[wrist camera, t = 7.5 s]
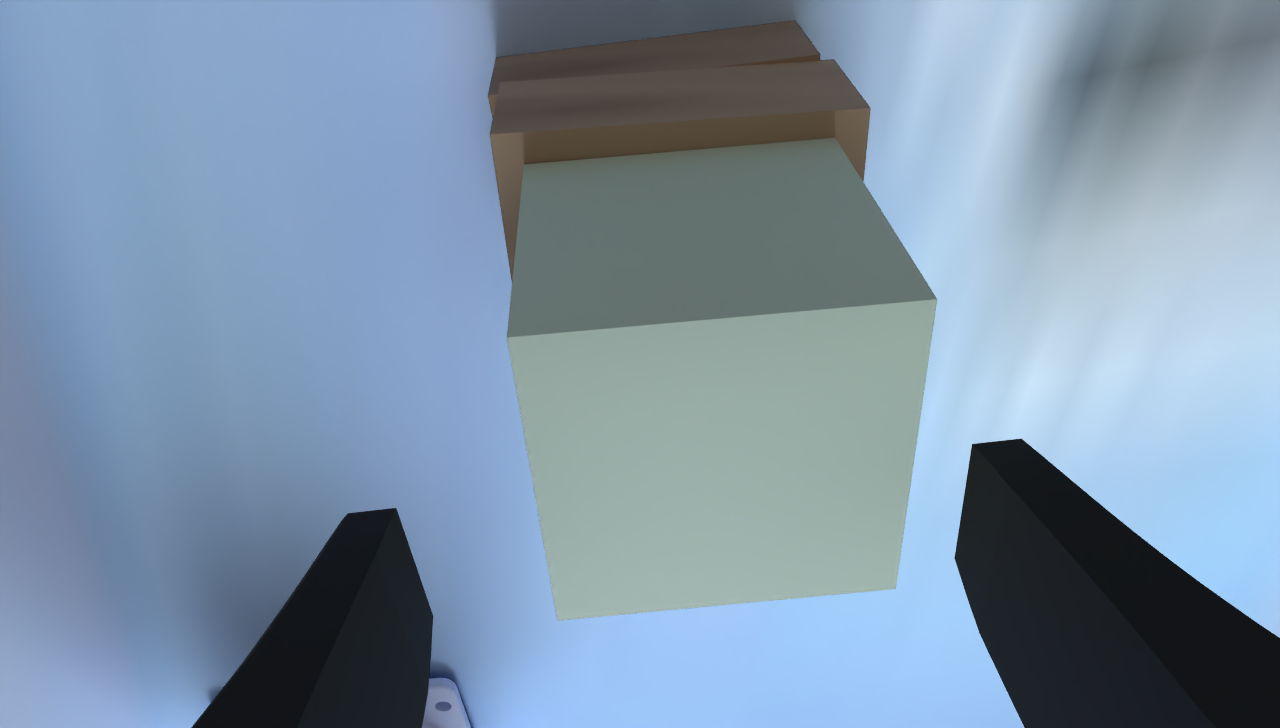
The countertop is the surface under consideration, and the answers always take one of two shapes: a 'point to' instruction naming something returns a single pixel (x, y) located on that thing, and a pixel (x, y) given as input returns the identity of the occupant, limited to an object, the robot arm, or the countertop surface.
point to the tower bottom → (661, 55)
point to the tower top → (669, 117)
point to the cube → (715, 376)
